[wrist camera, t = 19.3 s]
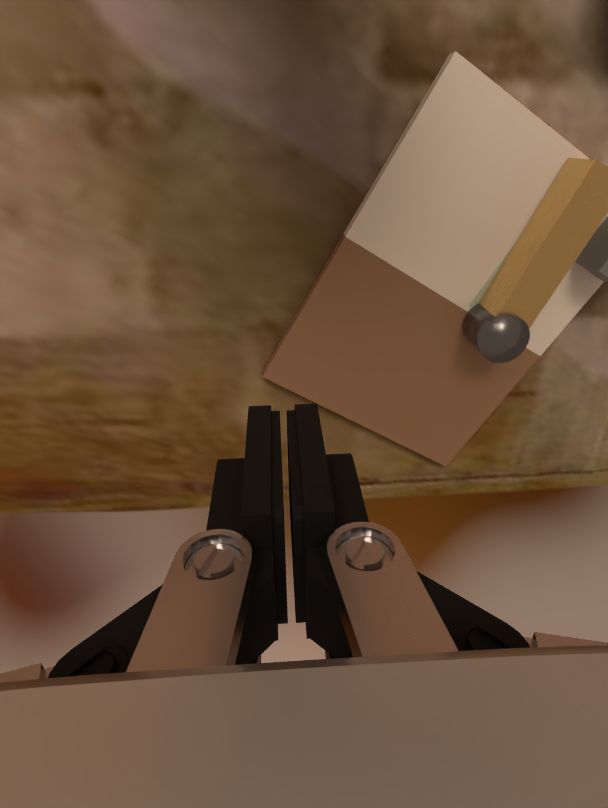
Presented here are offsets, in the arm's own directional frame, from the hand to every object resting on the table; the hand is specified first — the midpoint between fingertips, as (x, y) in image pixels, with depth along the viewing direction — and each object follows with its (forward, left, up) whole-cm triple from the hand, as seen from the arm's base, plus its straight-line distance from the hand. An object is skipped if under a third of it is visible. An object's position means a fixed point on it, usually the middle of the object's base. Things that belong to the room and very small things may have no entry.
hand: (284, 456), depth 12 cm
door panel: (-3, +14, -27) cm, 30 cm away
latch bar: (-8, +16, -26) cm, 32 cm away
